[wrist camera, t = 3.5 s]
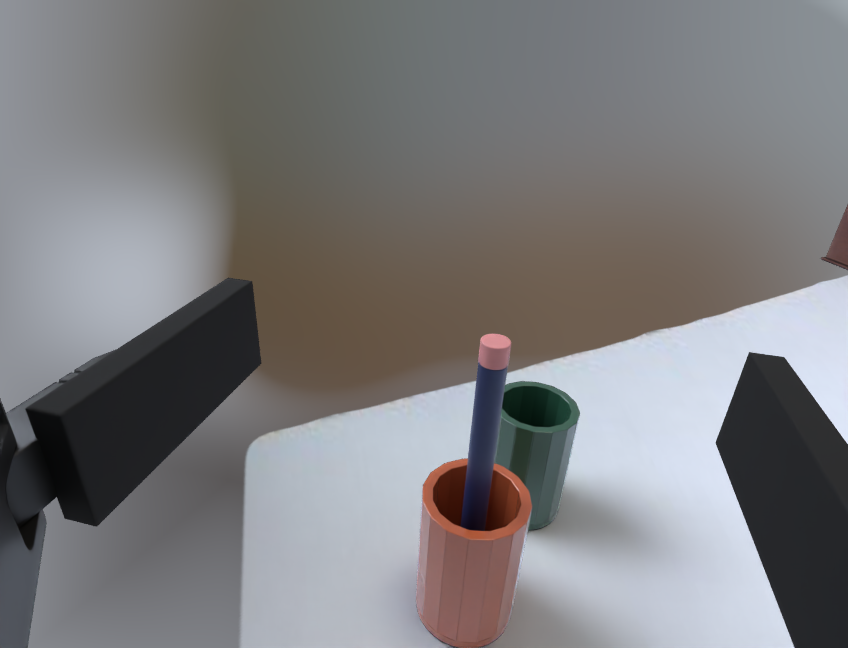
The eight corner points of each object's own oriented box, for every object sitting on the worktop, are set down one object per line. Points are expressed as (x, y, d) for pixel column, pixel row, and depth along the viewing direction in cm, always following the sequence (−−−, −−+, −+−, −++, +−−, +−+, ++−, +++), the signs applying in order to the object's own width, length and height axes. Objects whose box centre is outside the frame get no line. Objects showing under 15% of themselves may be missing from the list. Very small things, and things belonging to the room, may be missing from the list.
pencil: (449, 600, 33) (476, 343, 25) (457, 581, 34) (485, 330, 26) (471, 609, 32) (506, 351, 24) (478, 590, 34) (514, 337, 25)
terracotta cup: (399, 622, 32) (404, 514, 28) (437, 548, 37) (446, 447, 33) (495, 666, 30) (515, 556, 26) (521, 581, 35) (542, 478, 31)
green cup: (470, 513, 40) (481, 416, 36) (493, 463, 45) (505, 373, 41) (549, 542, 38) (571, 442, 34) (564, 486, 43) (585, 394, 39)
